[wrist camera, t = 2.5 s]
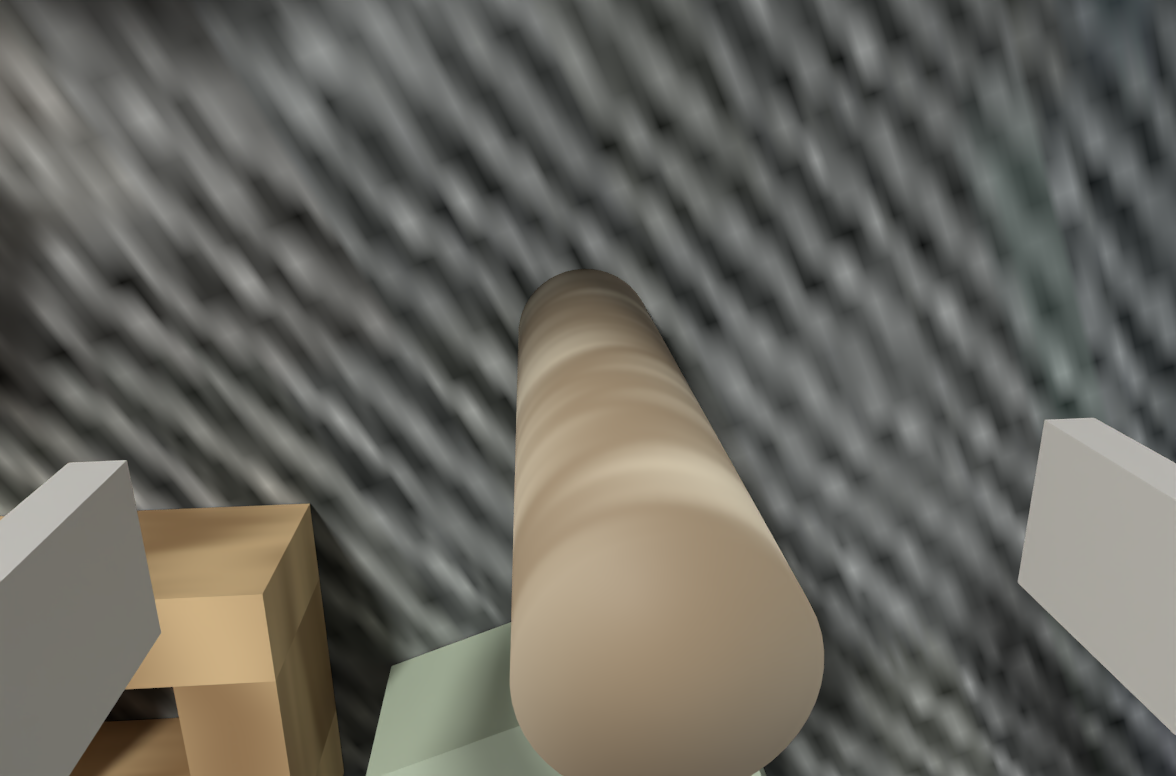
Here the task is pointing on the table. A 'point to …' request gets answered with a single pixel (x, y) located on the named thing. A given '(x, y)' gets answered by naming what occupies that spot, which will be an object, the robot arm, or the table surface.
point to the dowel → (641, 560)
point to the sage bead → (455, 715)
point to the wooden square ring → (231, 651)
